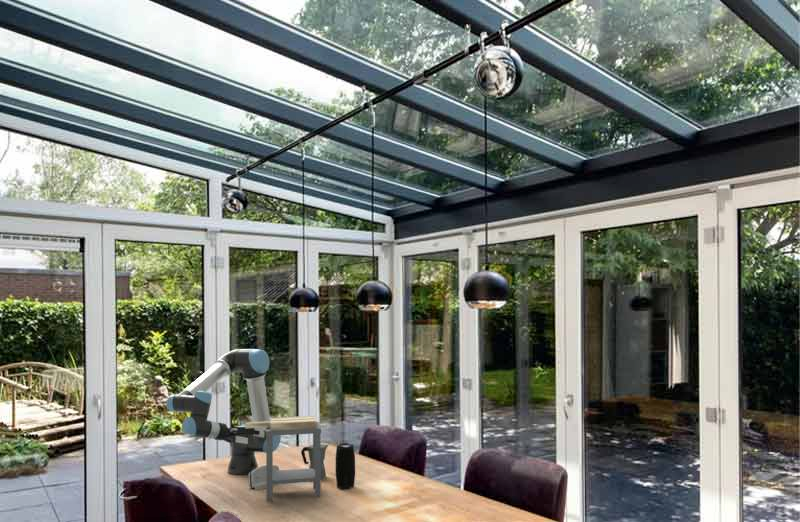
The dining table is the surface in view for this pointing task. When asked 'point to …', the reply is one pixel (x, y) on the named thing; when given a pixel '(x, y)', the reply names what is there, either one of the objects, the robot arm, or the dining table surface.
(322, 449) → the coffeepot
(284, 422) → the cutting board
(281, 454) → the dining table surface
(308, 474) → the side table
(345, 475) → the portable speaker
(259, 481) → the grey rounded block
